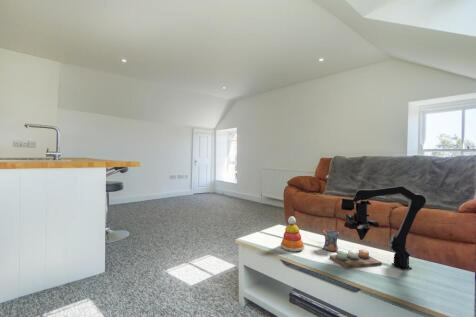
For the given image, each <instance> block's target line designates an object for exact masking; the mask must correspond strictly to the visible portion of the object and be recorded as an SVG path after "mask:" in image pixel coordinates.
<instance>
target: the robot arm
mask: <svg viewBox="0 0 476 317" xmlns="http://www.w3.org/2000/svg"><path fill="white" fill-rule="evenodd" d="M397 194H401V195H402V196H403V197H405V198H407V199H408V204H407V210H406V212H405V215H404V218H403V220H402V222H401V224H400V226H399V229H398V231H397V232H396V233H395V234H394V233H392V234H391V237H390V239H389V243H390V244H389V245H390V247H391V249H392V251H393V252H395V253H394V254H393V262H392V263H391V266H394V267H396V268H398V269H399V270H402V271H403V270H412V269H413V267H412V266H410V257H411V254H410V252H409V250H408V249H407V247H406V245H407V237H408V234H409V232H410V230H411V228H412V226H413V224H414V222H415V219H416V217H417V214H418V213H419V211H421V210H422V209H423V207H424V206H425V204H426V202H427V200H426V199H427V198H425V196H423V195H422V194H421V193H417V192H413V191H411V190H409V189H407V188H405V186H403V185H397V186H390V187H382V188H375V189H371V188H359V189H357V190H356V192H355V195H354V197H352V198H345V197H342V199H341V208H340V209H341V211H349V212H353V210H355V212H354V213H353V215H351V214H349V213H348V214H345V219H346V221H345V222H344V223H343V224H344V226H343V227H345V228H348V229H350V230H355V231H357V232H356V233H357V234H358V238H359V240H360V241H363V240H364V239H365V237H366V236H367V234H368V232H369V231H370V230H371V227H369V226H373V228H379V227H380V226H379V225H380V224H379V222H378V221H376V220H372V219H368V217H370V214H368V205H370V206H371V205H372V202H371V201H369V199H371V198H375V197H382V196H383V197H384V196H391V195H397Z"/></svg>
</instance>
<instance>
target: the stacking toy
mask: <svg viewBox="0 0 476 317" xmlns="http://www.w3.org/2000/svg"><path fill="white" fill-rule="evenodd" d="M287 223H288V224H287V225H286V226H285V229H284V233H283V236H282V237H283V238H282V240H281V243H280V247H281V248H282V249H284V250H286V251H289V252H299V251H302V250H304V249H305V245H304V243H303V240H302V234H301V233H300V228H299V227H298V226H297V224H296V223H297V219H296V218H295V216H293V215H292V216H289V218H288V219H287Z"/></svg>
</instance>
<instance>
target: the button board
mask: <svg viewBox="0 0 476 317" xmlns="http://www.w3.org/2000/svg"><path fill="white" fill-rule="evenodd" d="M329 259H330V260H332V261H333V262H335V263H336V264H338V265H339V266H341V267H343V269H345V270H347V269H356V268H368V267H375V266H376V267H377V266H382V265H383V264H382V261H380V260H378V259H376V258H375V257H373V256H370V255H369V257H367V258H366V257H361V256H359V252H358V258H350V257H349V256H348V253H347V259H339V258H338V257H337V254H331V255H329Z"/></svg>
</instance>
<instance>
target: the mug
mask: <svg viewBox="0 0 476 317" xmlns="http://www.w3.org/2000/svg"><path fill="white" fill-rule="evenodd" d="M322 232H323V235H324V245H323V249H324V250H327V251H331V252H338V250H339V248H338V243H337V242H338V237H339V235H340V232H338V231H337V230H333V229H332V230H331V229H324V230H323V231H322Z"/></svg>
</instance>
